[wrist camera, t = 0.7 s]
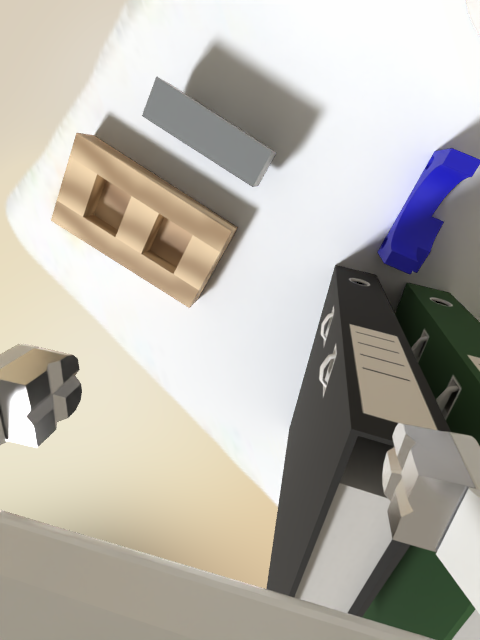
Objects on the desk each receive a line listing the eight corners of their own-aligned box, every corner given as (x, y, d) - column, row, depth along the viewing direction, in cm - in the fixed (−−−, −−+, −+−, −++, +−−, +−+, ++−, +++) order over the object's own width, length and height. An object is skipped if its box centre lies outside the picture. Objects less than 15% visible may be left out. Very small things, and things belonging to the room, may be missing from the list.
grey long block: (178, 88, 42) (156, 76, 36) (279, 153, 42) (272, 151, 36) (164, 122, 43) (142, 115, 38) (261, 184, 44) (252, 186, 38)
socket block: (93, 135, 46) (76, 132, 43) (238, 227, 46) (231, 231, 43) (67, 217, 51) (50, 220, 48) (197, 299, 51) (189, 307, 48)
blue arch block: (411, 266, 44) (423, 280, 38) (377, 252, 44) (384, 263, 38) (473, 167, 38) (497, 166, 33) (434, 151, 39) (451, 148, 33)
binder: (373, 454, 55) (426, 766, 26) (280, 426, 57) (233, 688, 28) (449, 292, 44) (689, 529, 15) (330, 263, 45) (336, 424, 17)
